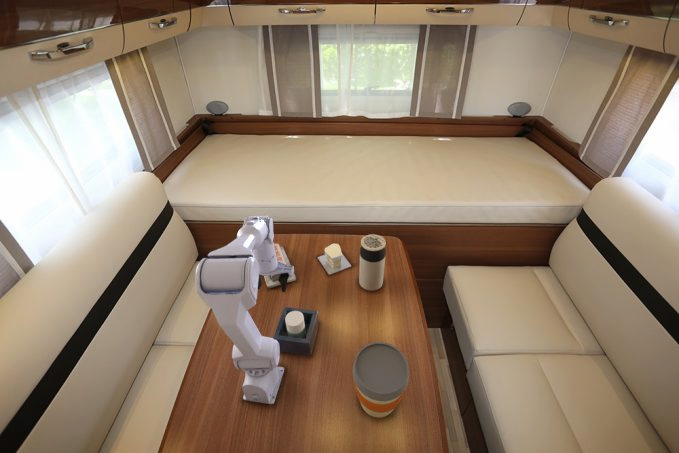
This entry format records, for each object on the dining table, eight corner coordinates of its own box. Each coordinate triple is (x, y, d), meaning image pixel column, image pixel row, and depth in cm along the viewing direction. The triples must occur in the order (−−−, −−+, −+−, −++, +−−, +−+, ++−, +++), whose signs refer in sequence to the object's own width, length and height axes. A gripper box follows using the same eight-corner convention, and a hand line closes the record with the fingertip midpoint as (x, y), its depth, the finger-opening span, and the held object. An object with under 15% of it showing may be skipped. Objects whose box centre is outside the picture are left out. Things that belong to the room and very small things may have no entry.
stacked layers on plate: (351, 266, 118) (351, 254, 115) (329, 274, 115) (328, 263, 112) (339, 249, 125) (338, 238, 122) (317, 257, 122) (316, 246, 119)
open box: (310, 355, 91) (309, 343, 88) (275, 350, 93) (272, 338, 89) (318, 323, 100) (317, 310, 96) (286, 319, 101) (284, 306, 97)
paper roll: (308, 331, 97) (304, 346, 93) (291, 329, 98) (286, 344, 94) (305, 311, 91) (301, 327, 88) (287, 309, 92) (282, 325, 88)
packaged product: (255, 246, 121) (281, 239, 124) (257, 255, 124) (283, 248, 126) (265, 279, 107) (295, 271, 110) (268, 289, 110) (296, 281, 113)
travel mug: (370, 295, 108) (372, 254, 97) (354, 281, 113) (354, 241, 102) (387, 283, 112) (391, 242, 101) (371, 270, 117) (373, 230, 105)
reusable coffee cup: (350, 375, 87) (349, 342, 77) (397, 372, 87) (403, 338, 78) (355, 428, 77) (355, 397, 68) (408, 423, 77) (416, 392, 68)
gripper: (294, 246, 91) (299, 280, 99) (244, 241, 93) (253, 275, 101) (287, 264, 85) (293, 299, 94) (234, 259, 87) (244, 293, 96)
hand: (272, 288), depth 97 cm, fingers open, 7 cm apart
